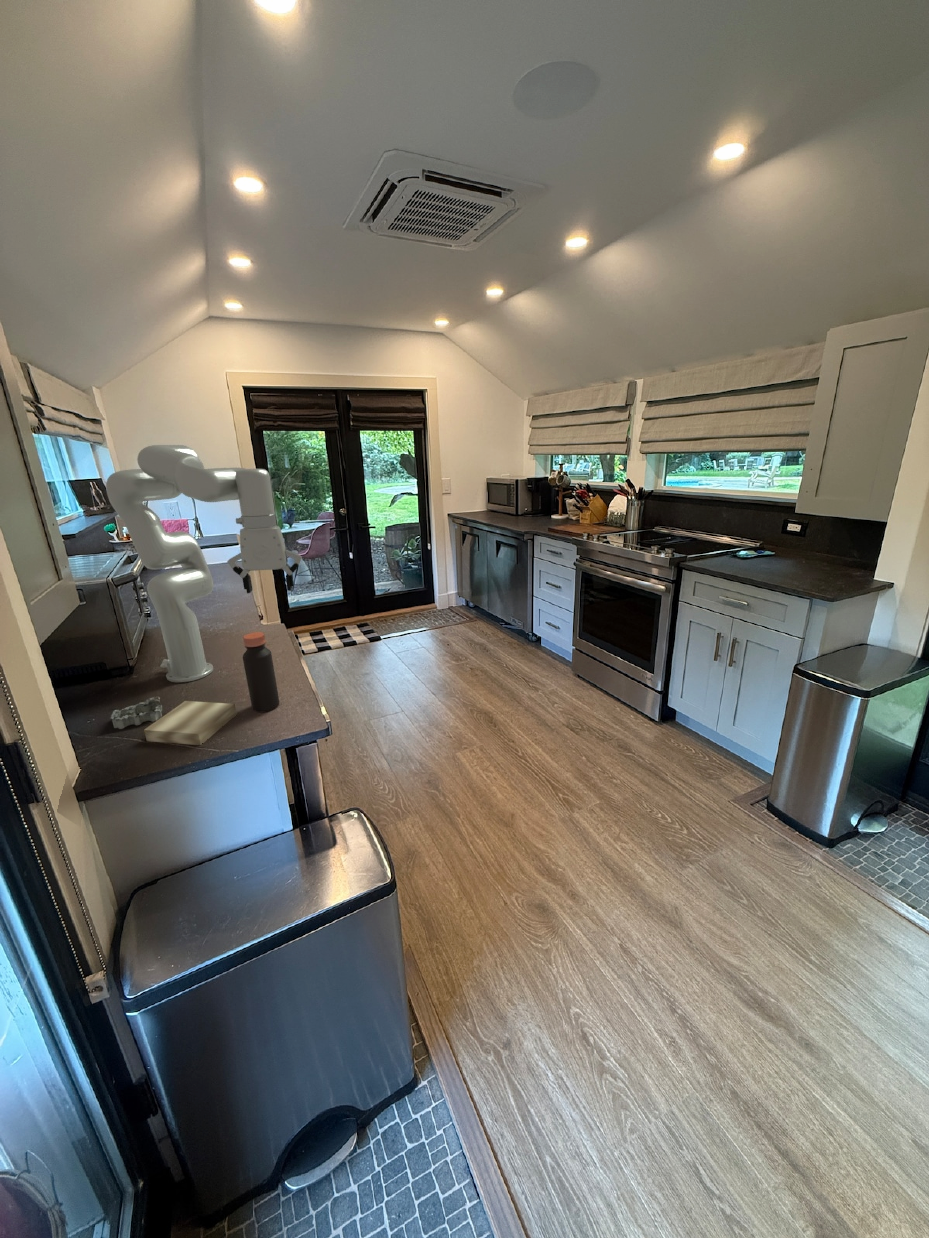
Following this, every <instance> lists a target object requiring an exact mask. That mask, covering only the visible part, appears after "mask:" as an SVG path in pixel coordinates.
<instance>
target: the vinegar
mask: <svg viewBox="0 0 929 1238" xmlns="http://www.w3.org/2000/svg"><path fill="white" fill-rule="evenodd" d="M243 645H244V647H245V648H246V650H245V652H244V653H243V655H242V660H243V661H242V663H243V666H244V667H243V669H244V672H245V677H246V683H247V688H248V693H249V694H248V695H249V699H250V704H251V708H252V711H255V712H258V713H264V712H269V711H273V710H275V709H276V708H278V706H279V705H280V697H279V692H278V691H279V690H278V685H277V679H276V674H275V667H274V662H273V654H272V652H271V650H270V649H269V648H267V647H266V638H265V634H264V633H263V632H261V631H258V632H257V631H255V632H250V633H247V634H245V635H243Z"/></svg>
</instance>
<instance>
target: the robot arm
mask: <svg viewBox="0 0 929 1238" xmlns="http://www.w3.org/2000/svg"><path fill="white" fill-rule="evenodd" d="M136 460H137V464H138V467H139V468H131V469H123V470H118V471H115V472H114V473H113V472H112V473H111V474H110V475H109V476H108V477H107V480H106V483H105V486H106V487H105V488H106V489H105V490H106V495H107V497H108V501H109V503H110V505H111V507H112V508H113V509H114V511H115V512H116V514H117V515H118V517H119V518H120V519H121V521H122V522H123V524H124V526H125V528H126V530H127V533H128V534H129V537H130V539H131V542H132V543H133V546H134V548H135V551H136V553H137V555H138V558H139V560H140V561H141V563H142V565H143V566H144V567H145V568H147V569H148V570H153V571H154V570H161V569H166V568H170V567H175V566H179V565H180V566H181V567H182V568H181V569H180V568H179V569H175V570H171V571H166V572H163V573H160V574H157V575H155V576H153V577H152V578H151V579H150V580H149V581H148V582H147V585H146V589H147V595H148V597H149V598H150V600H151V603H152V606H153V607H154V609H155V612H156V614H157V618H158V622H159V627H160V630H161V634H162V638H163V642H164V646H165V650H166V653H167V659H166V658H164V659H163V660H162V663H161V664H160V666H159V667H160V668H161V669H167V673H166V674H165V677H166V679H167V681H169V682H171V683H187V682H192V681H196V680H200V679H203V678H205V677H207V676H209V675H210V674H212V672H213V671H214V666H213V664H212V663H210V662H207V661H206V655H205V651H204V646H203V641H202V638H201V637H202V636H201V633H200V628H199V621H198V619H197V616H196V614H195V612H194V611H193V610H192V609H191V608H190V607H188V605H186V604H187V603H190V602H191V601H194V600H197V599H201V598H204V597H207V596H208V595H211V594H212V592H213V589H214V579H213V576H212V573H211V571H210V568H209V565H208V563H207V561H206V558H205V555H204V553H203V551H202V549H201V546H200V544H199V542H198V541H197V540H196V538H195V537H194V536H193V535H192V534H190V533H189V532H188V531H187V532H186V531H181V530H180V531H179V530H178V531H172V532H167V531H166V530H165V528H164V526H163V523H162V521H161V518H160V517H159V516H158V514H156V513H155V512H154V511H153V510H152V509H151V508H150V507H148V506H147V505H145V504H144V503H143V502H151V501H153V502H154V501H161V500H170V499H171V500H172V499H174V498H177V497H179V496H180V495H184V496H185V497H188V498H191V499H194V500H196V501H197V500H198V501H200V502H204V503H219V502H227V501H237V500H238V503H239V508H240V515H241V516H240V517H238V518H237V517H236V518H235V523H236V524H237V525H241V526H242V528H240V529H239V548H240V549H239V550H240V552H239V553H237V554H236V555H234V556H232V557H231V558H229V559H228V560H227V564H228V565H229V567H230V568H232V571H233V572H234V573H236V574H237V575H238V576H239V577H240V578H242V585H243V589H244V590H246V594H250V593H252V591H253V583H252V578H251V575H250V574H249V573H250V571H253V572H254V571H255V572H256V571H270V570H271V571H272V570H273V571H274V570H283V572H285V574H286V575H285V582H286V588H287V589H286V590H287V591H289V592H290V591H292V589H293V587H295V583H294V582H295V581H294V576H293V574H294V572H295V571H296V570H297V569H298V568H299V566H300V564H301V561H302V558H303V556H302V555H301V554H298V553H296V552H294V551H291V550H289V549H286V544H285V539H284V536H283V533H282V529H281V527H280V526H278V524H277V519H276V518H277V517H276V510H275V503H274V497H273V496H274V495H273V489H272V482H271V477H270V473H269V471H268V470H266V469H265V468H245V467H217V468H205V465H204V463H203V462H202V461H201V459H200V456H199V455H198V453H197V452H196V451H195V450H194V449H193V448H191V447H190V446H187V445H183V444H154V445H152V444H151V445H147V446H145V447H143V448H142V449H141V450H140V451H139V453H138V455H137V459H136ZM288 557H289V558H291V559H293V560H294V562H293V564H292V565H291V566H290V565H289V564H288V559H289V558H288ZM240 560H241V565H242V567H241V566H239V565H238V564H237V562H238V561H240Z"/></svg>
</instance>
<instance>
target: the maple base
mask: <svg viewBox="0 0 929 1238" xmlns="http://www.w3.org/2000/svg"><path fill="white" fill-rule="evenodd" d="M236 715H238V713H237V708H236V704H235V703H226V702H225V703H224V702H212V701H211V702H210V701H196V700H195V701H192V700H184V701H183V702H182V703H180V704H179V705H177V706H176V707H175V708H173V709H172V710H170V711H169V712H168V713H166V714H165V715H162V717H161V718H159V719H157V720H156V721H153V723H152V724H150V725H149V726H147V727H146V728H145V729H144V730H143V732H144V735H145V739H146V742H155V743H156V742H157V743H167V744H179V745H193V746H202V745H203V744H204V743H206V741H208V740H209V739H210V738H211V737H213V735H215V734H216V733H217V732H218V731H220V730H221V729H222V728H223V727H224V726H225V725H226V724H228V723H229V722H230V721H231V720H232V719H233V718H234V717H236ZM222 726H223V727H222ZM207 739H208V740H207ZM202 743H203V744H202Z"/></svg>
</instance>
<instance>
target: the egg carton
mask: <svg viewBox="0 0 929 1238" xmlns="http://www.w3.org/2000/svg"><path fill="white" fill-rule="evenodd" d="M162 712H163V705H162V703H161V697H160V696H159V695H157V696H152V697H149V698H147V699H146V700H145V701H144V702H142V701H141V702H138V703H137V704H135V705H129V706H127V707H125V708H122V709H115V710H113V711H112V713H111V715H110V719H111V722H112V725H113V728H114V729H119V730H123V729H125V728H126V727H128V726H131V725H135V726H139V725H142V723H145V722H148V721H150V722H153V723H154V722H156V721H157V720H159V719H160V718H162V717H163V715H162Z"/></svg>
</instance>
